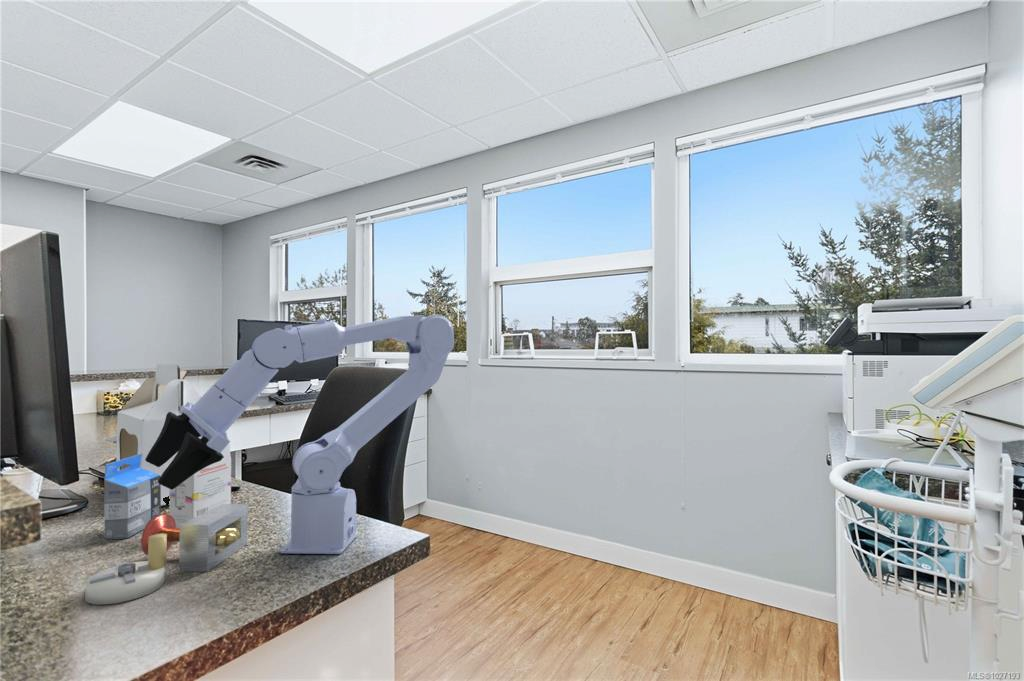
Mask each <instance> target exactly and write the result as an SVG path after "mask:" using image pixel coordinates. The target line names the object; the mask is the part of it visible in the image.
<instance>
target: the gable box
mask: <svg viewBox="0 0 1024 681" xmlns="http://www.w3.org/2000/svg"><path fill="white" fill-rule="evenodd" d="M155 367H156V368H155V375H154V376H153V377H148V378H147V379H145V380H144V382H143V383H142V384H140V386H139V387H138V389H137V390H136V391H135V392H134V393H133V395H131V397H130V398H129V399H128V401H127V402H126V403H125V404H124V405H123V407H121V409H120V410H118V411H117V424H116V425H117V428H116V459H115V460H116V461H119V460H122V459H125V458H129V457H132V456H135V455H139V454H142V457H141V464H140V467H141V468H143V469H146V470H148V471H151V472H153V473H156V474H158V475H160V476H161V475H162V474H163V472H164V471H165V470H166V468H167V467H168V466H169V464H170V463H171V462H172V461H173V459H174V458H175V456H176V455H177V453H178V452H177V453H176V454H175V455H174V456H172V457H171V458H170V459H169V460H168V461H167V462H166V463H164V464H163V465H162V466H160V467H157V466H155V465H153V464H151V463H148V462H146V460H145V459H146V457H147V455H148V453H149V452H150V450H151V448H152V447H153V445H154V444H155V442H156V440H157V438H158V437H159V435H160V433H161V431H162V428H163V426H164V423H165V419H166V415H167V413H168V412H172V413H174V414H175V415H177V416H178V415H181V413H180V412H179V411H180V407H181V406H182V405H186V404H187V403H188V402H190V403H192V404H193V405H195V404H196V402H197V401H198V400H199V399H200V398H201V397H202V396H201V395H200V393H199V392H198V391H197V389H196V388H195V387H194V386H193V384H192V383H191V382H190V381H189V380H186V379H185V378H186V376H187V375H188V372H189V370H181V368H180V365H177V364H176V365H175V364H174V365H173V364H156V366H155ZM198 438H200V439H201V438H202V436H200V437H198ZM129 465H130V464H127V465H125V464H123V466H121V467H119V468H118V471H119V470H122V469H125V468H128V467H129ZM168 496H170V489H169V488H167V487H165V486H163V485H161V507H162V506H167V505H166V503H165V502H164V501H163V498H165V497H168Z"/></svg>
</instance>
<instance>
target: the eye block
mask: <svg viewBox="0 0 1024 681" xmlns="http://www.w3.org/2000/svg"><path fill="white" fill-rule="evenodd" d="M248 508H249V507H248V503H231V504H221V505H219V506H217V507H215V508H213V509H211V510H209V511H207V512H205V513H203V514H201V515H199V516H197V517H195V518H193V519H191V520H189V521H187V522H185V523H183V524H181V525H180V542H179V550H178V551H179V552H178V553H179V554H178V555H179V556H178V572H200V573H201V572H203V573H204V572H209V571H210V570H212V569H214V568H215V567H216V566H218V565H219V564H220V563H222V562H224V561H225V560H226V559H228V558H229V557H230V556H232V555H233V554H235V553H236V552H238V551H239V550H241V549H242V548H243V547H245V546H246V545H247V544H248V540H247V539H248ZM222 528H238V529H239V533H240V537H239V539H238V540H237V541H236V542H235V543H232V544H230V545H228V546H215V545H216V532H217V531H219V530H221V529H222Z"/></svg>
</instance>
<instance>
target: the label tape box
mask: <svg viewBox="0 0 1024 681" xmlns="http://www.w3.org/2000/svg"><path fill="white" fill-rule="evenodd" d="M141 457H142V454H139V455H135V456H132V457H129V458H125V459H122V460H119V461H113V462H109V463H106V464H105V467H104V468H105V469H104V479H103V480H104V486H103V487H104V492H103V493H104V497H103V500H104V501H103V502H104V508H103V509H104V510H103V512H104V539H105V540H118V539H119V540H120V539H122V540H123V539H129V538H131V537H132V536H135V535H136V534H138V533H140V532H142V531H144V529H145V527H146V525H147V523H148V522H149V521H150V520H151V519H152V518H153V517H154V516H156V515H159V514H162V509H161V508H162V506H161V485H160V484H159V483H158V480H159V478H160V477H161V476H160V475H158V474H156V473H153V472H151V471H148V470H146V469H143V468H141V467H140V464H141ZM123 464H125V465H127V464H130V465H129V467H128V468H125V469H122V470H119V471H118V468H119V467H121V466H123Z"/></svg>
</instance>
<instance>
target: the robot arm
mask: <svg viewBox="0 0 1024 681" xmlns="http://www.w3.org/2000/svg"><path fill="white" fill-rule="evenodd" d="M315 322H316V323H310V324H306V325H304V324H303V325H298V326H293V325H292V324H288V325H285V326H284V329H283V328H274V329H271V330H268V331H265V332H263V333H262V334H260V335H259V336H256V338H254V340H253V343H252V345H251V348H250V349H249V350H246V351H245V352H244V353H243V354H242V355H241V357H240V359H238V360H235V361H234V362H233V363H232V365H231V366H230V367H229V368H227V370H226V371H225V372H224V373H223V374H222V375H221V376H220V377H219V378H218V379H217V380H216V381H215V382H214V383H213V385H211V386H210V388H209V389H207V391H206V392H205V393H204V394H203V395H202V396H201V398H200V399H199V400H198V401H197V402H196V404H195V405H193V404H192V403H190V402H188V403H187V404H186V405H182V406H181V407H180V411H179V412H180V413H181V415H178V416H177V415H175V414H174V413H172V412H168V413H167V415H166V419H165V423H164V426H163V428H162V431H161V433H160V435H159V437H158V438H157V440H156V442H155V444H154V445H153V447H152V448H151V450H150V452H149V453H148V455H147V457H146V459H145V460H146V462H148V463H151V464H153V465H155V466H157V467H160V466H162V465H163V464H164V463H166V462H167V461H168V460H169V459H170V458H171V457H172V456H174V455H175V454H176V453H177V452H178V453H177V455H176V456H175V458H174V459H173V461H172V462H171V463H170V464H169V466H168V467H167V468H166V470H165V471H164V472H163V474H162V475H161V477H160V478H159V480H158V483H159V484H160V485H163V486H165V487H167V488H169V489H171V490H173V489H174V488H176V487H177V486H178V485H180V484H181V483H183V482H184V481H185V480H187V479H188V478H189V477H191V476H192V475H194V474H195V473H197V472H198V471H200V470H201V469H203V468H205V467H207V466H209V465H211V464H213V463H216V462H219V461H221V460H222V459H223V458H224V456H223V455H222V454H221V452H222V450H223V449H224V448H225V447H226V446H227V445H228V444H229V443H231V441H230V439H229V438H228V434H227V430H229V429H230V428H231V427H232V426H233V424H234V423H235V422H236V421H237V420H238V419H239V418H240V417H241V416H242V414H244V412H245V411H246V410H247V409H248V408H249V407H250V406H251V404H252V403H253V402H254V401H255V400H256V399H257V398H258V397H259V395H260V394H261V393H262V392H263V391H264V390H265V389H266V388H267V387H268V385H269V384H270V381H271V380H272V379H273V378H274V376H275V375H276V374H277V373H278V372H279V371H280V370H279V368H283V369H284V368H286V367H288V366H290V365H291V364H293V362H294V361H296V362H298V363H299V364H302V363H307V362H310V361H311V362H312V361H316V360H321V359H326V358H330V357H336V356H340V355H341V354H342V352H343V351H344V350H345V348H347V346H350V345H357V344H363V343H369V342H373V341H374V342H375V341H382V340H387V339H392V340H394V341H396V342H399V343H405V345H406V348H407V351H408V354H409V355H408V358H409V359H408V369H407V370H406V371H405V372H403V373H402V374H400V376H398V378H396V379H395V380H394V381H392V382H391V383H390V384H389V385H387V387H385V388H384V389H382V391H381V392H379V393H378V394H377V395H376V396H375V397H373V398H372V399H371V400H370V401H368V402H367V403H366V404H365V405H364V406H362V407H361V408H360V409H359V410H358V411H357V412H355V413H354V414H352V416H350V417H349V418H348V419H346V421H344V422H343V423H342V424H340V425H339V426H338V427H337V428H334V429H333V430H331V431H328V432H326V433H325V434H323V435H322V436H321V437H320V438H318V439H317V440H314V441H311V442H307V443H304V444H302V445H301V446H300V447H299V448H298V449H297V450H296V451H295V452H294V455H293V457H292V463H291V464H292V469H293V471H294V473H295V474H296V475H297V476H298V478H296V479H297V480H296V482H295V483H294V484H293V485H292V486H291V504H290V509H291V510H290V541H289V542H287V543H286V544H285V545H284V546H282V548H280V549H279V552H278V553H279V554H303V555H304V554H305V555H307V554H309V555H310V554H314V555H316V554H319V555H321V554H322V555H323V554H325V555H329V554H330V555H340V554H343V552H344V551H346V549H347V547H348V546H349V545H351V543H352V542H353V541H354V540H355V538H357V537H358V533H357V528H356V527H357V496H356V492H355V490H354V489H352V488H345V487H342V486H341V482H340V481H339V480H340V479H341V476H342V475H343V472H344V471H345V470H346V469H347V467H348V466H349V465H351V464H352V463H353V462H354V460H355V457H356V455H357V453H358V451H359V450H361V448H362V447H364V446H365V445H366V444H367V443H368V442H369V441H370V440H372V439H373V438H375V436H377V435H379V433H380V432H381V431H383V429H384V428H385V427H387V426H388V425H389V424H390V423H392V422H393V421H394V420H395V419H397V418H398V417H399V416H400V415H401V414H402V413H403V412H404V411H405V410H407V409H408V408H409V407H410V406H412V404H414V402H416V401H417V400H418V399H419V398H420V397H422V396H423V395H424V394H425V393H426V392H428V391H429V390H430V389H431V388H432V387H434V385H435V384H437V382H438V381H439V379H440V378H441V375H442V373H443V370H444V367H445V364H446V361H447V359H448V357H449V355H450V353H451V352H452V350H453V349H454V347H455V331H454V330H455V329H454V325H453V323H452V322H451V321H450V319H448V317H446V316H444V315H441V314H438V313H437V314H430V315H428V316H425V315H419V314H418V315H402V316H401V315H400V316H399V315H398V316H395V317H389V318H385V319H379V320H375V321H370V322H364V323H360V324H355V325H348V326H342V325H340V324H338V323H337V322H335V321H334V320H330V321H327V319H326V318H319V319H316V321H315ZM200 436H202V438H201V439H200V438H198V437H200Z"/></svg>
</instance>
